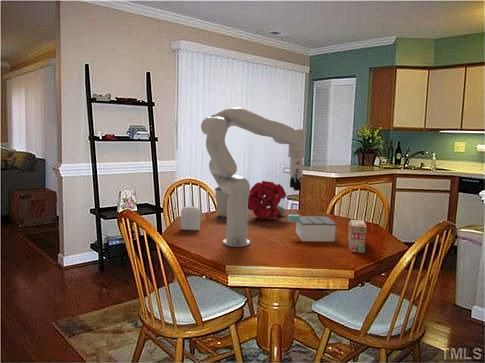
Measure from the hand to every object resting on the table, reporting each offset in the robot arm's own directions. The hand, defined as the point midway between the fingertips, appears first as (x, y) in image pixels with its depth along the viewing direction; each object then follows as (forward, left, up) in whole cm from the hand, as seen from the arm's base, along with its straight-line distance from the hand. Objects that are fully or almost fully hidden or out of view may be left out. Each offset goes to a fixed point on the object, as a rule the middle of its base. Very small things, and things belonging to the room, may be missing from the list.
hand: (294, 188), depth 202 cm
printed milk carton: (-16, -27, -25) cm, 40 cm away
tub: (0, -11, -24) cm, 27 cm away
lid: (0, -8, -16) cm, 18 cm away
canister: (+49, +31, -25) cm, 63 cm away
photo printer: (+13, +52, -25) cm, 59 cm away
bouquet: (+43, +7, -25) cm, 50 cm away
